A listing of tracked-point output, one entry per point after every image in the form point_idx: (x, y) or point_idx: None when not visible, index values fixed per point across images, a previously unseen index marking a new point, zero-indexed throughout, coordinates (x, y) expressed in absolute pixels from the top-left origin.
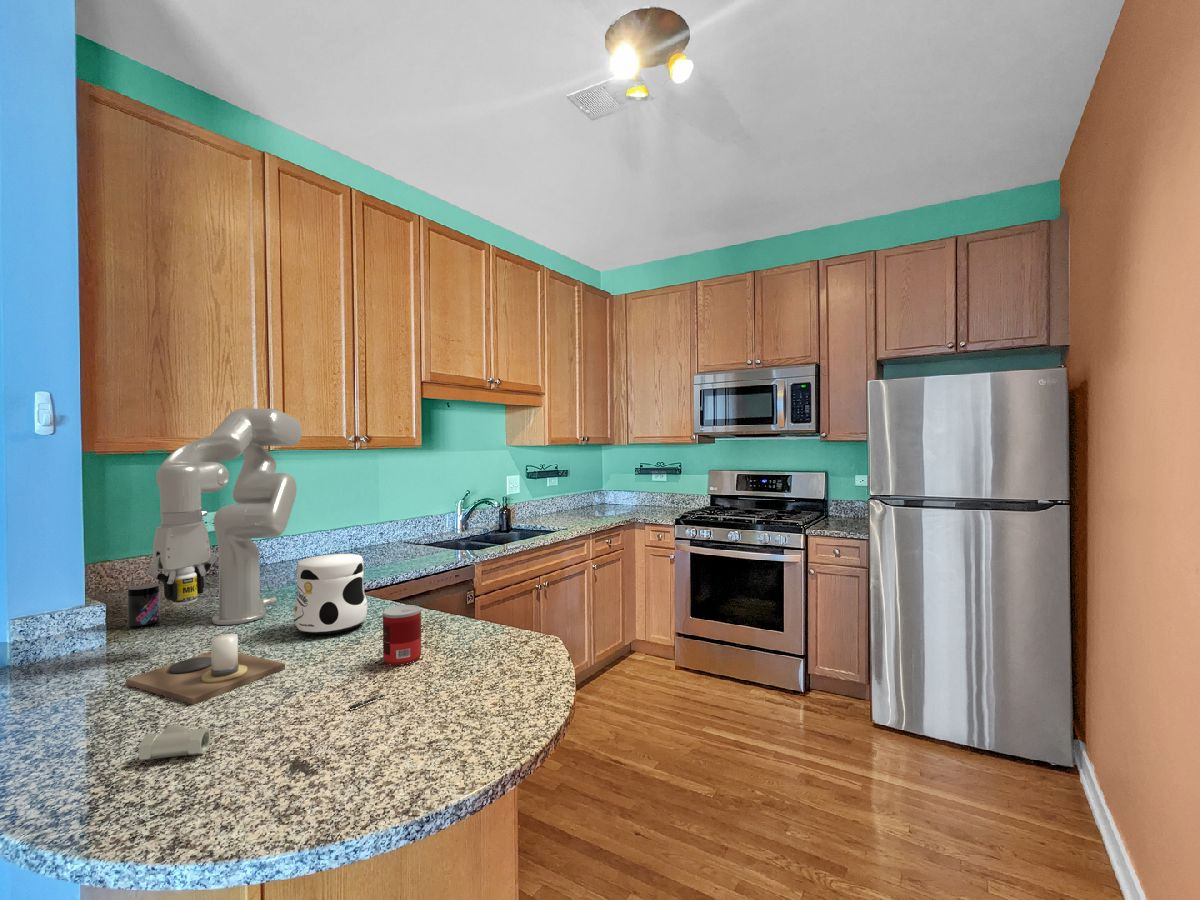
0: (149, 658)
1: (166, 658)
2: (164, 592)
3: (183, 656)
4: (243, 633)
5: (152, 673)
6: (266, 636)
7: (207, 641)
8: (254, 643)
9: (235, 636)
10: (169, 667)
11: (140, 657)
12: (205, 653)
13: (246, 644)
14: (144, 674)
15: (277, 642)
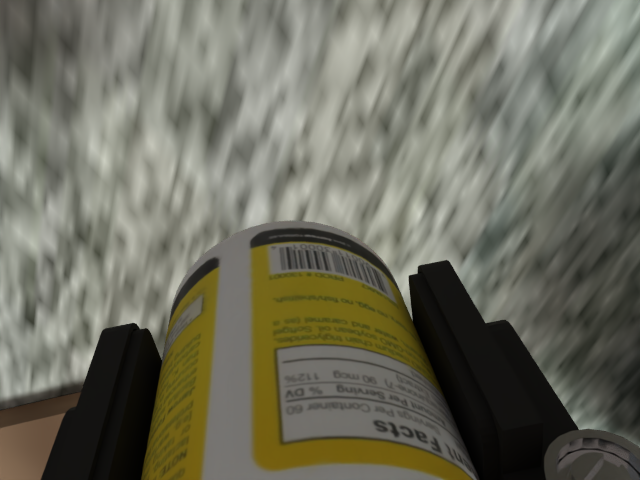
0: (78, 114)
1: (150, 194)
2: (56, 447)
3: (221, 232)
4: (587, 77)
5: (44, 452)
6: (594, 239)
7: (404, 56)
8: (502, 299)
9: None
10: None
11: (35, 42)
12: None
13: (477, 285)
14: (14, 443)
15: (553, 359)
